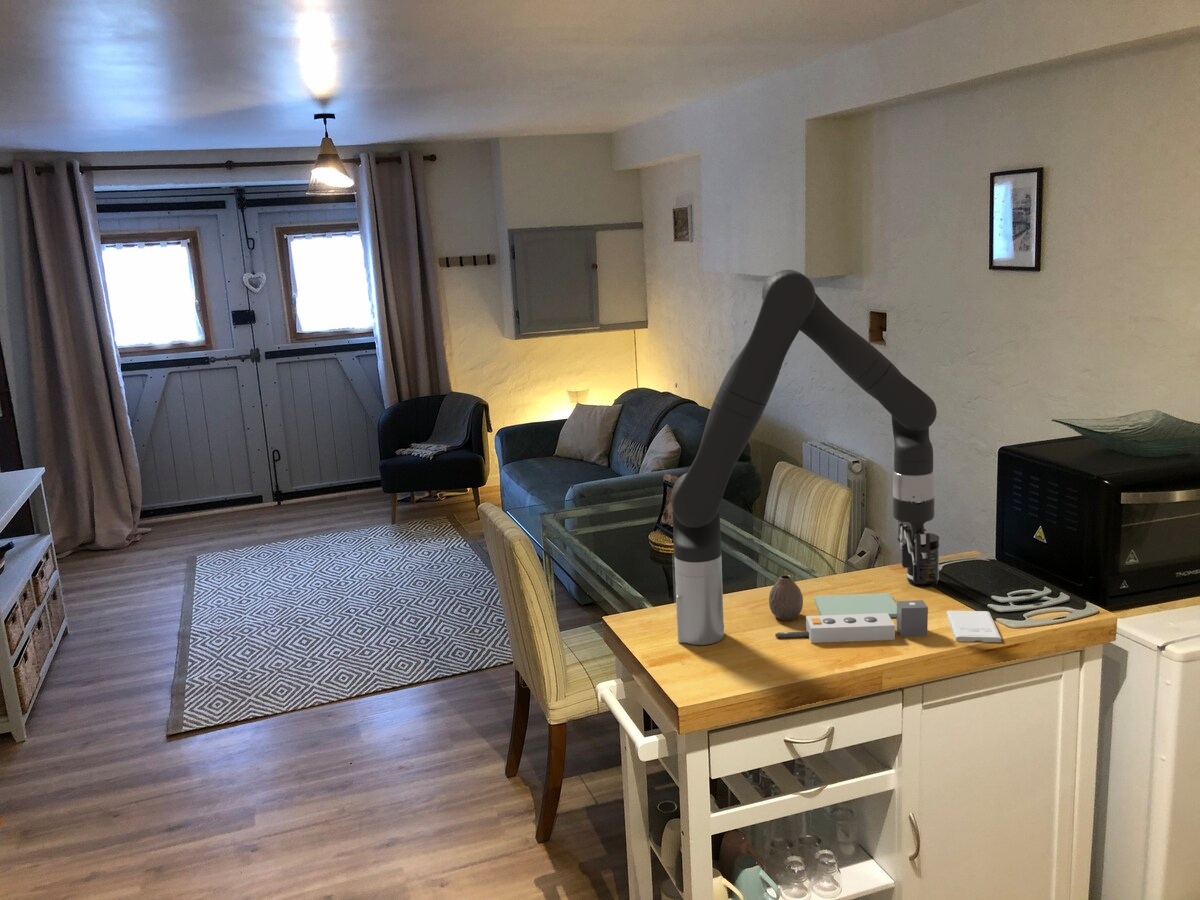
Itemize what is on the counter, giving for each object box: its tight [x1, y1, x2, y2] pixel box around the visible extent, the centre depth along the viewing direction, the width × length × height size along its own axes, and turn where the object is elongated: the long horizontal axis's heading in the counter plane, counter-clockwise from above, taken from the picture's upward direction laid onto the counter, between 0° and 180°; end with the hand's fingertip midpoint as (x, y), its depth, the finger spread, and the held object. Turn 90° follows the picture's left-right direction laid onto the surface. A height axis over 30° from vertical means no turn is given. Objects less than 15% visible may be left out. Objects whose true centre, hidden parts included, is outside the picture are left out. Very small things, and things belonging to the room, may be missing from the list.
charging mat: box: [813, 592, 897, 619], centre depth 206 cm, size 16×11×1 cm
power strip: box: [774, 613, 896, 644], centre depth 194 cm, size 22×6×3 cm, turn 87°
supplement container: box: [906, 532, 941, 588], centre depth 217 cm, size 7×7×10 cm
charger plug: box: [896, 599, 929, 638], centre depth 192 cm, size 5×4×6 cm
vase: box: [768, 574, 804, 621], centre depth 203 cm, size 7×7×9 cm
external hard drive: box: [946, 610, 1002, 643], centre depth 193 cm, size 2×8×12 cm
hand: (913, 574), depth 190 cm, fingers open, 8 cm apart
